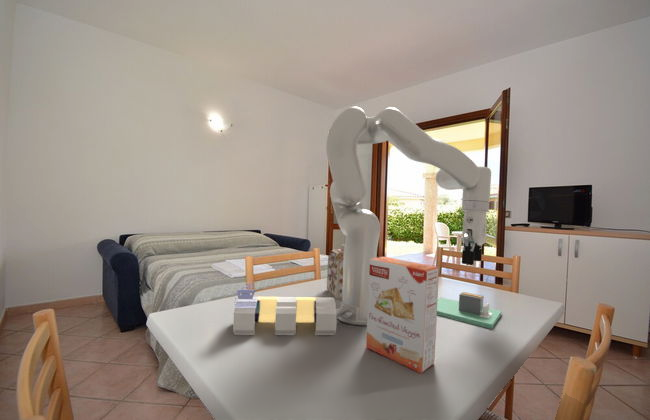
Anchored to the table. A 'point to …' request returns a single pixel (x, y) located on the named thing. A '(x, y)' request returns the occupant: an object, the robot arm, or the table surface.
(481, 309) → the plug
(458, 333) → the table surface
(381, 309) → the cracker box
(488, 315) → the board
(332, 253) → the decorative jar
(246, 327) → the white and yellow block
